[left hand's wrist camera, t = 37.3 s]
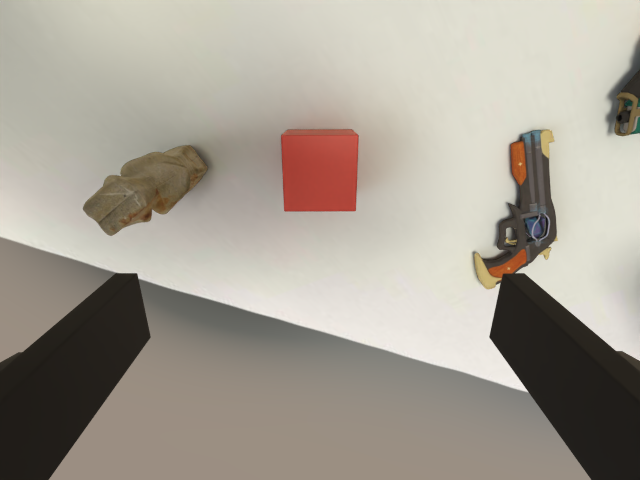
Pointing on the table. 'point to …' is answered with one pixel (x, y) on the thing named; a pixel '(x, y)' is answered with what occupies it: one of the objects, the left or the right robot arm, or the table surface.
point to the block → (319, 170)
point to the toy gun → (525, 211)
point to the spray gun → (629, 108)
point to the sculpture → (145, 188)
